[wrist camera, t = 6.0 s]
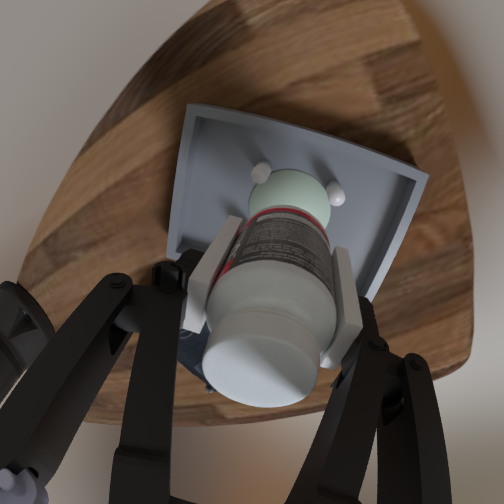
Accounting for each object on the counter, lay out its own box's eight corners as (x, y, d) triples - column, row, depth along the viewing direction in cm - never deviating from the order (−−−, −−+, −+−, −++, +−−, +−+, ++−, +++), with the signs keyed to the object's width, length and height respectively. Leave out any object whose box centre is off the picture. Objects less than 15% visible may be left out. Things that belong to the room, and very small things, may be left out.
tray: (177, 243, 28) (161, 262, 25) (199, 102, 22) (182, 103, 18) (361, 296, 27) (366, 320, 24) (417, 167, 21) (433, 177, 18)
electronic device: (273, 347, 35) (187, 260, 28) (265, 388, 30) (164, 304, 24) (216, 359, 39) (134, 288, 33) (205, 394, 35) (112, 324, 29)
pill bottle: (232, 205, 17) (161, 314, 9) (327, 199, 16) (346, 315, 8) (246, 284, 20) (203, 412, 11) (330, 282, 19) (335, 419, 10)
